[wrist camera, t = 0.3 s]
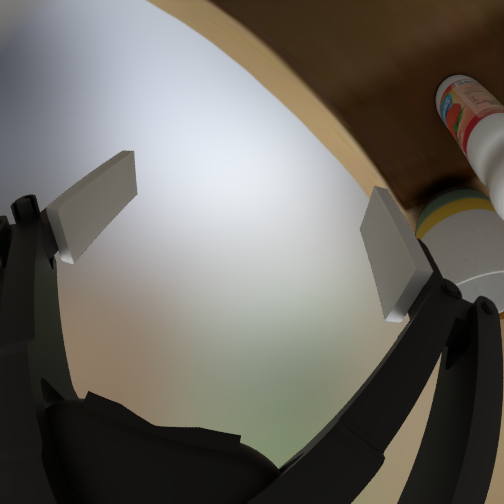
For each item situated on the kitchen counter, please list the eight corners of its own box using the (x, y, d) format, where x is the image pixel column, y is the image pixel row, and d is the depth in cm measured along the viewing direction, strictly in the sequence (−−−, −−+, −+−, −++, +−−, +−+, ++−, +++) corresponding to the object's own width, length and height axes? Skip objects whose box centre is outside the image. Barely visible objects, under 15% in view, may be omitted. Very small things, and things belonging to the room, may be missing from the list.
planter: (502, 173, 35) (546, 271, 23) (469, 236, 50) (489, 324, 38) (418, 159, 39) (454, 270, 27) (396, 232, 55) (407, 328, 43)
